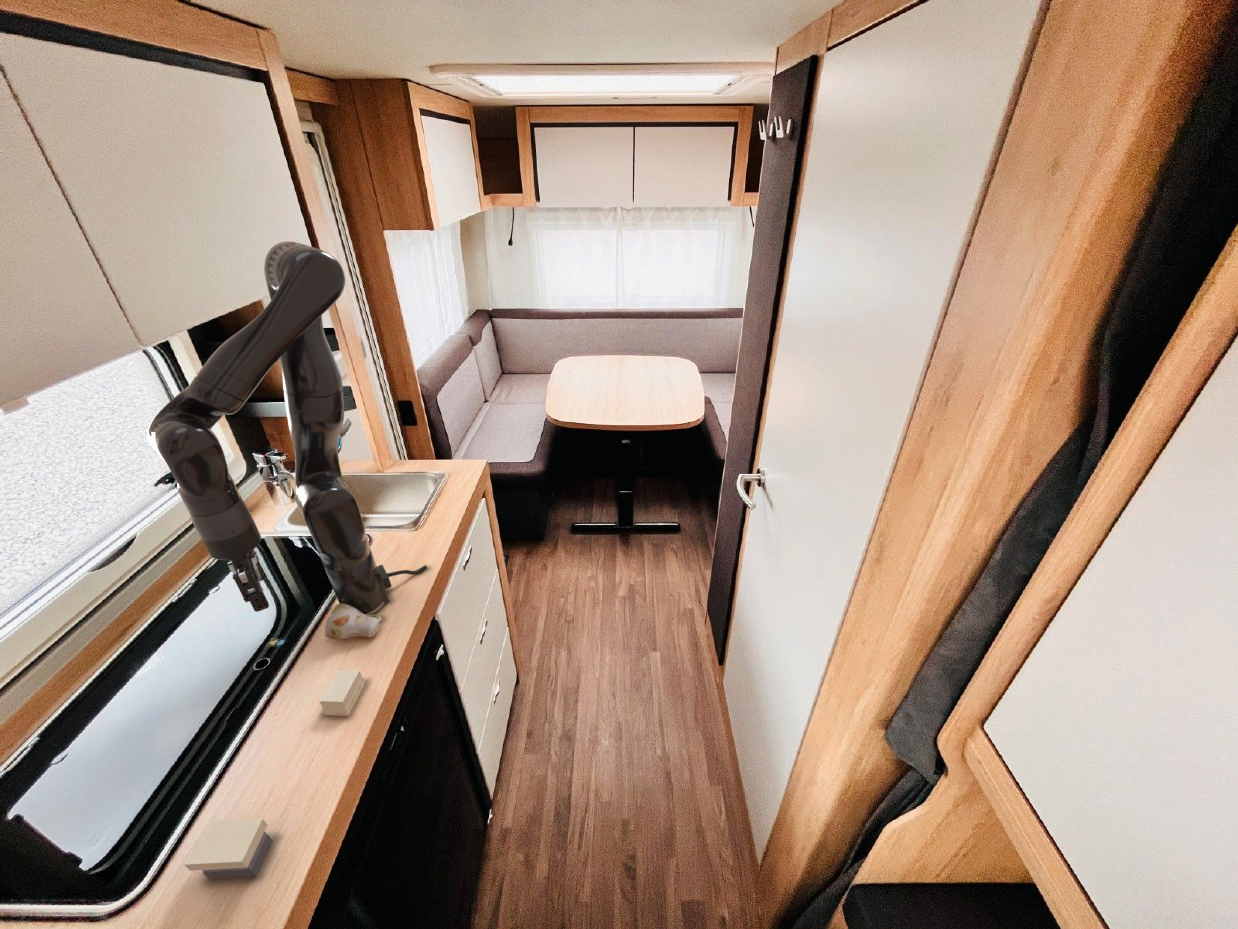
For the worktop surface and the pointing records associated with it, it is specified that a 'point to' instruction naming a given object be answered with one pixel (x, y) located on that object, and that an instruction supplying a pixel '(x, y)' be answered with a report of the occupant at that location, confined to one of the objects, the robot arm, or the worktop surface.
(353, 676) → the white stack
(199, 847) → the white book
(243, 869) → the grey stack
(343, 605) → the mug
